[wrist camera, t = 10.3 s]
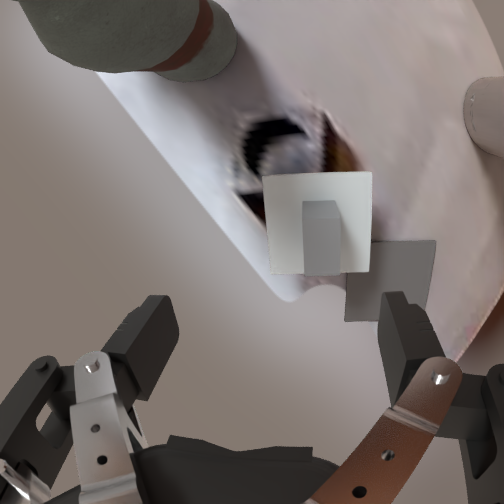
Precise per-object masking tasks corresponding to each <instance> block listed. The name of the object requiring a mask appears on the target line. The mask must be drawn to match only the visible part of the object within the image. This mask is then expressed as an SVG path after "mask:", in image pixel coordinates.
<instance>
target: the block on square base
mask: <svg viewBox="0 0 504 504" xmlns="http://www.w3.org/2000/svg"><path fill="white" fill-rule="evenodd" d="M262 183H263V194H264V204H265V215H266V226H267V237H268V248H269V260H270V272H271V275H273V274H304V276H337V275H340V273H350V272H369V263H370V245H371V220H372V172H323V173H297V174H277V175H263V176H262Z"/></svg>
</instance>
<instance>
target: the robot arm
mask: <svg viewBox="0 0 504 504" xmlns="http://www.w3.org/2000/svg"><path fill="white" fill-rule="evenodd" d="M464 120H465V124H466V127H467V130H468V132H469V134H470V136H471V138H472V139H473V141H474V142H475V143H476V144H477V145H478V146H479V147H480V148H481V149H482V150H484V151H485V152H488V153H490V154H493V155H496V156H499V157H501V158H504V77H490V78H482V79H479V80H477V81H476V82H474V83H473V84H472V85H471V87H470V88H469V89H468V92H467V94H466V96H465V101H464ZM178 338H179V327H178V324H177V320H176V317H175V313H174V310H173V306H172V303H171V299H170V298H169V296H167V295H150V296H148V297H147V299H146V300H145V301H144V303H143V304H142V305H141V306H140V307H137V308H136V309H135V310H133V311H132V312H130V313H129V314H128V315H127V317H126V318H125V319H124V320H123V322H122V324H120V326H119V327H118V328H117V330H116V331H115V332H114V333H113V335H112V336H111V338H110V339H109V340H108V342H107V343H106V344H105V346H104V347H103V348H102V350H101V351H94V352H90V353H87V354H85V355H84V356H82V357H81V358H79V360H77V362H76V363H75V365H74V366H62V367H60V365H59V363H58V362H57V360H56V358H55V357H53V356H43V357H40V358H38V359H36V360H35V361H34V362H32V363H31V365H30V366H29V367H28V368H27V370H26V371H25V372H24V373H23V375H22V376H21V377H20V379H19V380H18V381H17V383H16V384H15V385H14V387H13V388H12V389H11V391H10V392H9V394H8V395H7V396H6V398H5V399H4V401H3V402H2V403H1V405H0V504H391V503H392V502H393V501H394V499H395V498H396V496H397V495H398V494H399V492H400V491H401V489H402V488H403V486H404V485H405V483H406V482H407V481H408V479H409V478H410V476H411V474H412V473H413V471H414V470H415V468H416V467H417V465H418V463H419V462H420V460H421V459H422V457H423V455H424V454H425V452H426V450H427V449H428V447H429V445H430V443H431V442H432V440H433V438H434V436H436V437H444V438H453V439H459V444H460V450H461V455H462V460H463V467H464V472H465V479H466V486H467V495H468V503H469V504H504V364H498V365H495V366H493V367H492V368H491V369H490V370H489V371H488V374H487V375H486V376H481V375H472V374H465V373H462V370H461V368H460V366H459V365H458V364H457V363H456V362H455V361H453V360H451V359H449V358H446V356H445V354H444V352H443V349H442V347H441V345H440V342H439V340H438V338H437V335H436V333H435V331H433V327H432V324H431V323H430V320H429V318H428V316H427V314H426V311H424V310H423V309H422V308H421V307H420V306H419V305H417V304H409V303H408V301H407V299H406V296H405V294H404V292H403V291H391V292H383V293H382V296H381V305H380V313H379V321H378V344H379V348H380V353H381V357H382V362H383V366H384V371H385V376H386V381H387V386H388V391H389V397H390V402H391V408H390V407H389V408H388V409H387V410H386V411H385V412H384V413H383V414H382V416H381V417H380V418H379V420H378V421H377V422H376V424H375V425H374V426H373V427H372V429H371V430H370V431H369V433H368V434H367V435H366V436H365V438H364V439H363V440H362V441H361V442H360V444H359V445H358V446H357V447H356V448H355V450H354V451H353V452H352V453H351V455H349V457H348V458H347V459H346V460H345V461H344V462H343V464H342V465H341V466H338V465H336V464H334V463H332V462H330V461H327V460H324V459H321V458H317V457H313V456H312V450H313V447H281V446H279V447H278V446H275V447H269V448H262V449H255V450H247V451H232V450H229V449H226V448H223V447H220V446H217V445H215V444H212V443H208V442H206V441H204V440H199V439H192V438H186V437H179V436H174V435H170V437H169V439H168V442H167V444H162V445H155V446H152V447H149V446H148V444H147V442H146V439H145V436H144V433H143V430H142V427H141V424H140V421H139V418H138V415H137V412H136V409H135V407H134V405H133V403H134V401H135V400H136V399H138V400H144V401H148V399H149V397H150V395H151V393H152V391H153V389H154V387H155V385H156V383H157V381H158V379H159V377H160V375H161V373H162V371H163V369H164V367H165V365H166V363H167V362H168V360H169V358H170V355H171V354H172V352H173V350H174V348H175V346H176V344H177V342H178ZM46 403H47V405H48V406H49V407H50V408H51V410H52V412H51V414H50V415H49V417H48V419H47V420H46V422H45V424H44V425H43V427H42V429H41V430H40V432H39V431H38V429H37V427H36V418H37V416H38V414H39V413H40V411H41V410H42V408H43V406H44V405H45V404H46ZM73 443H74V450H75V457H76V463H77V469H78V474H79V480H80V485H78V486H76V487H74V488H72V489H70V490H68V491H67V492H64V493H63V494H61V495H59V496H57V497H55V498H53V499H50V497H51V494H50V490H51V488H52V486H53V484H54V481H55V479H56V477H57V475H58V473H59V471H60V469H61V467H62V465H63V463H64V461H65V459H66V457H67V455H68V453H69V451H70V449H71V447H72V445H73Z"/></svg>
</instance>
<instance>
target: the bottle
mask: <svg viewBox="0 0 504 504" xmlns="http://www.w3.org/2000/svg"><path fill="white" fill-rule="evenodd" d="M13 1H18V2H19V3H20V5H21V7H22V9H23V11H24V12H25V14H26V16H27V18H28V20H29V22H30V23H31V25H32V27H33V29H34V31H35V32H36V34H37V35H38V38H39V39H40V41H41V42H42V44H43V45H44V46H45V48H46V49H47V50H48V52H49V53H51V54H53V55H55V56H57V57H59V58H61V59H63V60H65V61H66V62H69V63H70V64H72V65H74V66H78V67H81V68H85V69H89V70H93V71H97V72H107V73H122V72H132V71H152V72H155V73H157V74H159V75H160V76H163V77H165V78H167V79H169V80H173V81H178V82H191V81H199V80H205V79H208V78H210V77H212V76H215V75H217V74H218V73H219V72H220V71H222V70H223V69H224V68H225V67H227V65H228V64H229V62H230V61H231V59H232V58H233V56H234V53H235V49H236V46H237V35H236V30H235V27H234V25H233V23H232V20H231V18H230V16H229V14H228V13H227V12H226V11H225V10H224V9H223V8H222V7H221V6H220V5H219V4H217V3H216V2H214V1H212V0H13Z"/></svg>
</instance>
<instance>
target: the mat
mask: <svg viewBox="0 0 504 504" xmlns="http://www.w3.org/2000/svg"><path fill="white" fill-rule="evenodd" d="M435 248H436V241H385V242H371V245H370V263H369V272H350V273H347V287H346V304H345V318H344V321H345V322H352V321H376V320H379V313H380V305H381V296H382V293H383V292H391V291H403V292H404V294H405V296H406V299H407V301H408V303H409V304H417V305H419V306H420V307H421V308H422V309H423V310H425V305H426V300H427V295H428V290H429V285H430V279H431V274H432V268H433V261H434V255H435Z"/></svg>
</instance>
